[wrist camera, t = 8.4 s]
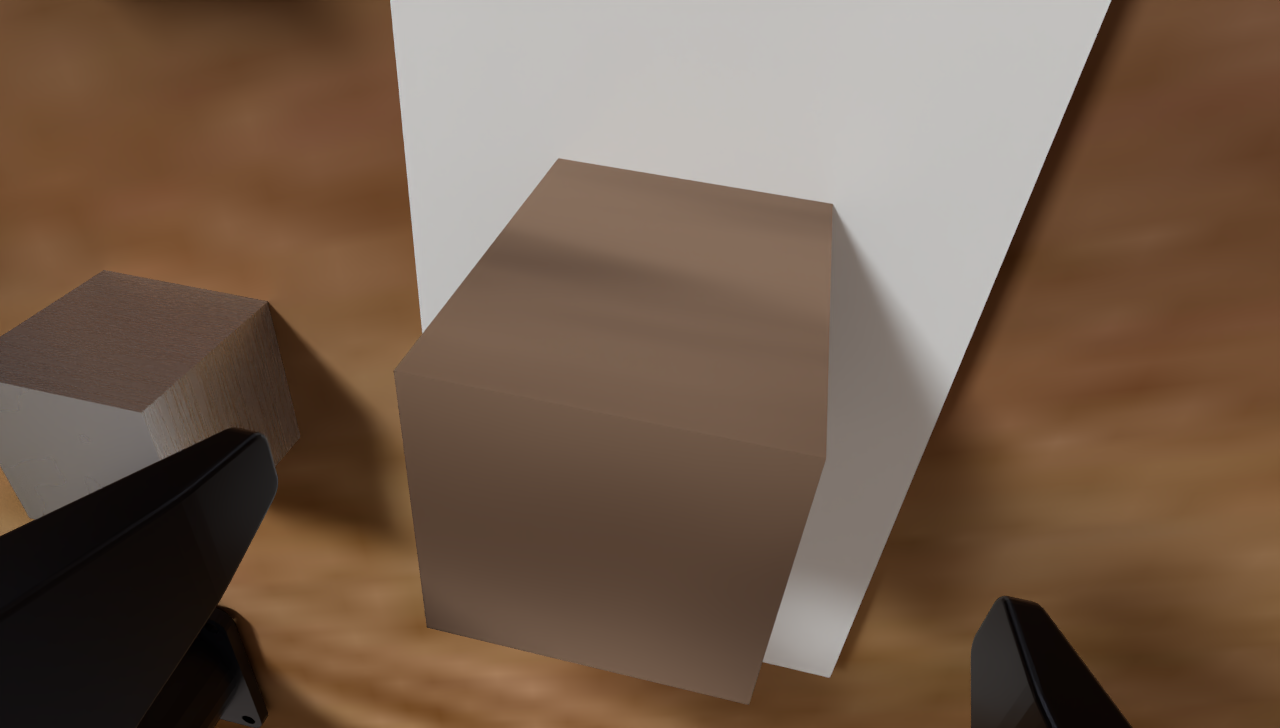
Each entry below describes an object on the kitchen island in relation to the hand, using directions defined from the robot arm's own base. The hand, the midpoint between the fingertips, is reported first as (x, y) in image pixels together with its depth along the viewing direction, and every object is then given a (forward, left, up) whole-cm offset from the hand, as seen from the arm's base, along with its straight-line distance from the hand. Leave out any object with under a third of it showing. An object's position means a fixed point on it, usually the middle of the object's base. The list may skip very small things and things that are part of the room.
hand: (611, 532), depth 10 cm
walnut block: (0, 0, -6) cm, 6 cm away
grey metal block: (-5, +11, -7) cm, 14 cm away
